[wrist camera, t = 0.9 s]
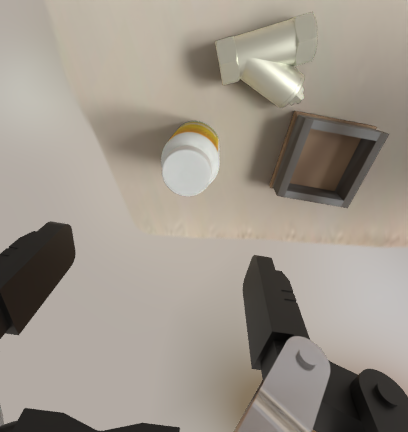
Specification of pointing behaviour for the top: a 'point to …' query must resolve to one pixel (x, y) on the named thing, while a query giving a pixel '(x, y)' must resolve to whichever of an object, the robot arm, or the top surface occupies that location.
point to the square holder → (325, 159)
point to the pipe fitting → (270, 58)
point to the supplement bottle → (191, 159)
